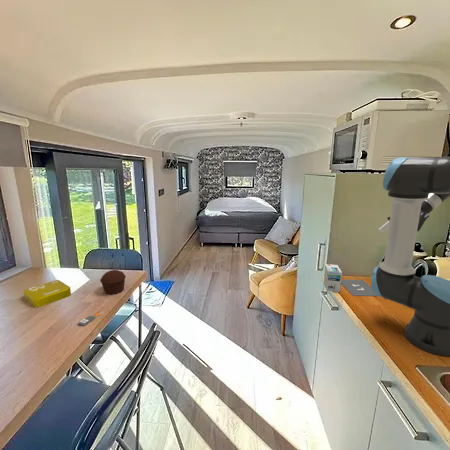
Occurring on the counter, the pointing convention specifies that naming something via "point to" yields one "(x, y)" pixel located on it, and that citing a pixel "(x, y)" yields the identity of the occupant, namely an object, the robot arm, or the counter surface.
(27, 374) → the counter surface
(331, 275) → the light bulb box
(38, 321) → the counter surface
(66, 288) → the element tile
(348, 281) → the mat
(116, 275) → the muffin
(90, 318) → the key chain
